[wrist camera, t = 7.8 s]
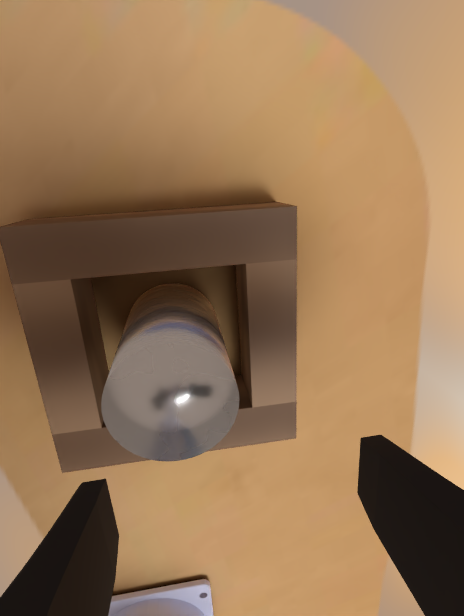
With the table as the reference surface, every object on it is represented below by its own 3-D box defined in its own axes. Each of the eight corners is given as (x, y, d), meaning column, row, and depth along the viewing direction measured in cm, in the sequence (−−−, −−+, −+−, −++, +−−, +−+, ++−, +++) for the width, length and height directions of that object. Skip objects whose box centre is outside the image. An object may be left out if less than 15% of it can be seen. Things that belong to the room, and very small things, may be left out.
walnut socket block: (280, 403, 21) (296, 438, 18) (78, 430, 20) (62, 472, 17) (276, 201, 17) (296, 206, 14) (28, 219, 16) (-4, 227, 13)
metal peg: (222, 356, 19) (246, 446, 13) (138, 372, 19) (119, 473, 12) (209, 276, 18) (229, 331, 11) (118, 291, 18) (84, 358, 11)
